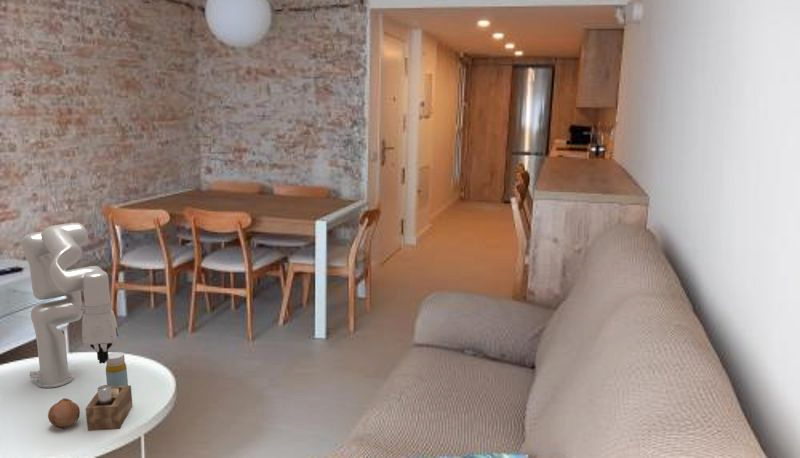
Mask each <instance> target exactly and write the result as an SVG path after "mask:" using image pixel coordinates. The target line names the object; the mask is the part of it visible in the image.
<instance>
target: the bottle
mask: <svg viewBox="0 0 800 458" xmlns="http://www.w3.org/2000/svg"><path fill="white" fill-rule="evenodd" d="M108 357H109V358H108V360H107V361H106V362H105V364H106V366H105V377H106V385H110V386H129V382H128V370H127V369H128V368H127V364H126V361H125V353H124V352H120V351H115V352H110V353H108Z"/></svg>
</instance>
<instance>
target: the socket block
mask: <svg viewBox="0 0 800 458" xmlns="http://www.w3.org/2000/svg"><path fill="white" fill-rule="evenodd" d="M111 388H118V389H119V394H113V395H112V405H102V406H99V399H98V391H96V393H95V394H94V396H93V397H92V399H91V400H90V401H89V403H88V404H87V406H86V407H85V417H86V426H87V431H88V432H89V431H91V432H92V431H104V430H106V431H107V430H120V429H121V427H122V425H123V424H124V423H125V420H126V419H127V416H128V415H129V414H130V411H132V409H133V407H134V406H133V397H132V394H133V393H132V385H129V384H128V386H111Z"/></svg>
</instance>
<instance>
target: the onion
mask: <svg viewBox="0 0 800 458" xmlns="http://www.w3.org/2000/svg"><path fill="white" fill-rule="evenodd" d="M80 415H81V410H80V407H79V405H78V404H77V403H76V402H74V401H73V400H72V399H70V398H66V397H64V398H62V399H60V400H59V401H57V402H56V403H55V404H53V405H51V407H49V409H48V413H47V418H48V421H49V423H50V424H51V425H52V426H53V427H55V428H57V429H62V430H65V429H67V428H70V427H72V426H73V425H75V424H76V423H77V421H78V420H79V419H80Z"/></svg>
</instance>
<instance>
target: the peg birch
mask: <svg viewBox="0 0 800 458" xmlns="http://www.w3.org/2000/svg"><path fill="white" fill-rule="evenodd" d="M113 394H119V389H118V388H111V395H113Z"/></svg>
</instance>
